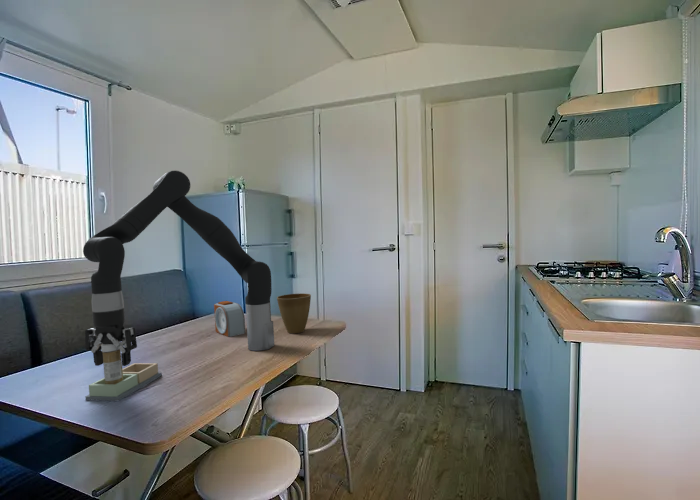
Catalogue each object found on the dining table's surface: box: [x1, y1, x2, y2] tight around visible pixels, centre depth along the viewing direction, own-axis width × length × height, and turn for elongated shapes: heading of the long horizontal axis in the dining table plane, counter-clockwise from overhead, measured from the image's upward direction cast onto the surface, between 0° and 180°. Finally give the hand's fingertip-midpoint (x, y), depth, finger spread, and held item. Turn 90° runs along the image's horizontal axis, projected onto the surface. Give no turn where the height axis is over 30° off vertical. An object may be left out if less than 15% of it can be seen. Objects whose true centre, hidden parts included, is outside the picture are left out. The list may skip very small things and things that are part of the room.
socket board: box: [84, 362, 163, 402], centre depth 110 cm, size 10×18×4 cm, turn 171°
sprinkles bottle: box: [101, 344, 123, 384], centre depth 105 cm, size 5×5×13 cm
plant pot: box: [276, 292, 312, 335], centre depth 164 cm, size 15×15×16 cm
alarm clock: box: [213, 300, 247, 338], centre depth 168 cm, size 15×8×14 cm, turn 43°
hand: (112, 364), depth 105 cm, fingers open, 8 cm apart
